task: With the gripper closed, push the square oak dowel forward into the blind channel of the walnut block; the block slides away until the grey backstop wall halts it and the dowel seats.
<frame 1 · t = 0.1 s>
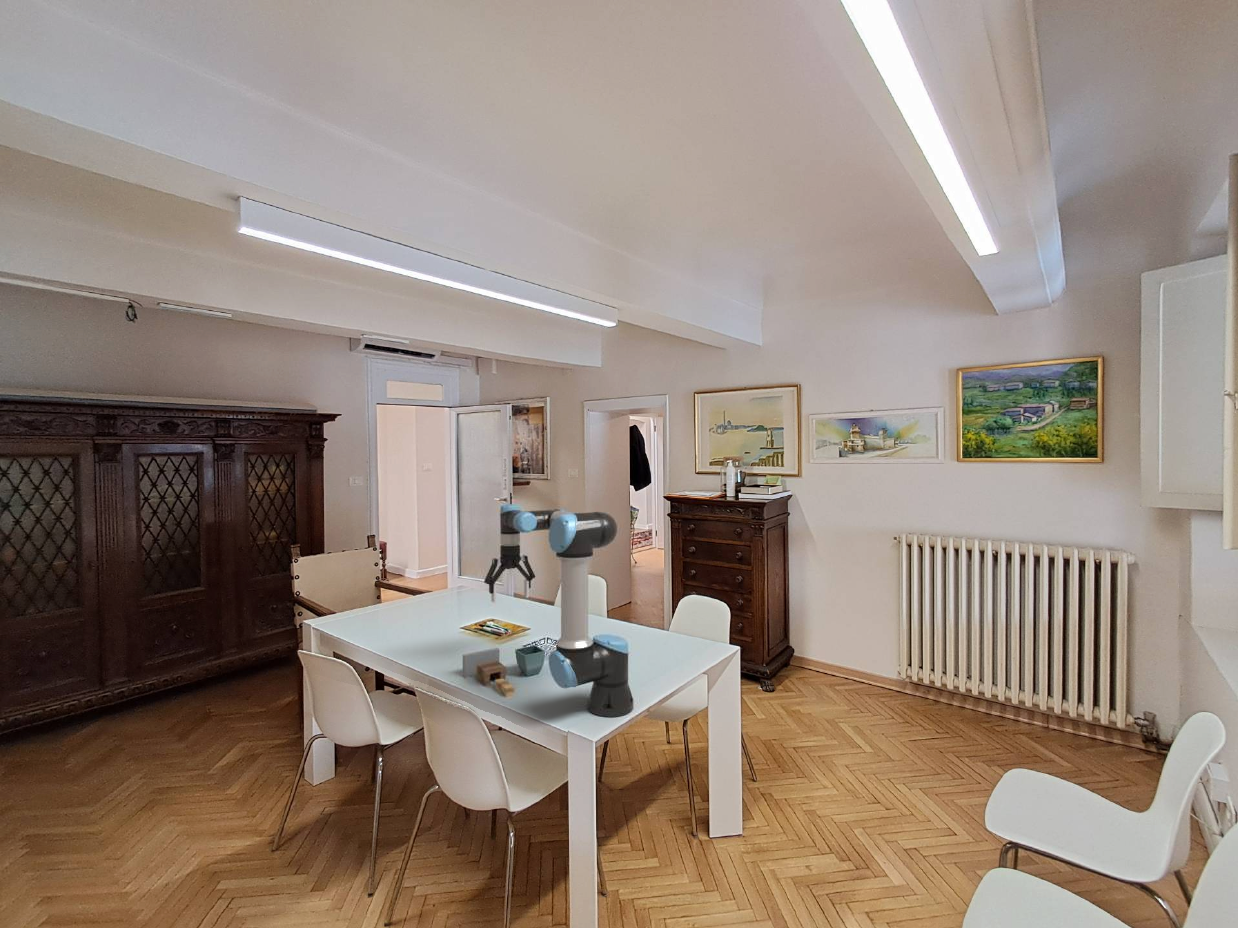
hand: (510, 599, 220), 28 cm above the table, fingers open, 13 cm apart
flower pot: (530, 673, 218), on the table
dowel: (504, 691, 201), on the table
block: (491, 672, 211), point 3 cm above the table, slide at 0.0 cm
wall: (481, 672, 219), on the table
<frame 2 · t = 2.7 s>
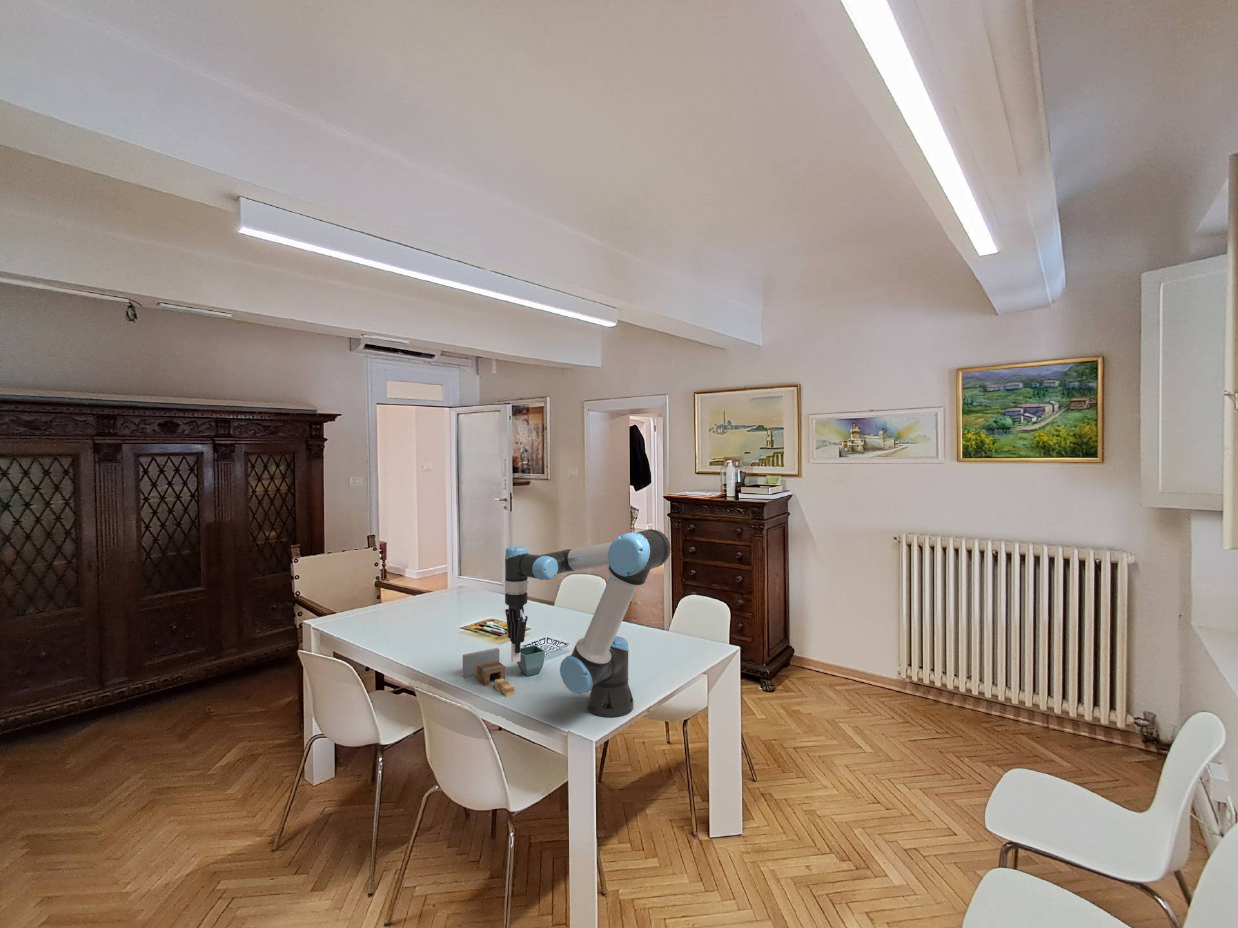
hand: (515, 661, 193), 13 cm above the table, fingers closed
nothing on the table moved.
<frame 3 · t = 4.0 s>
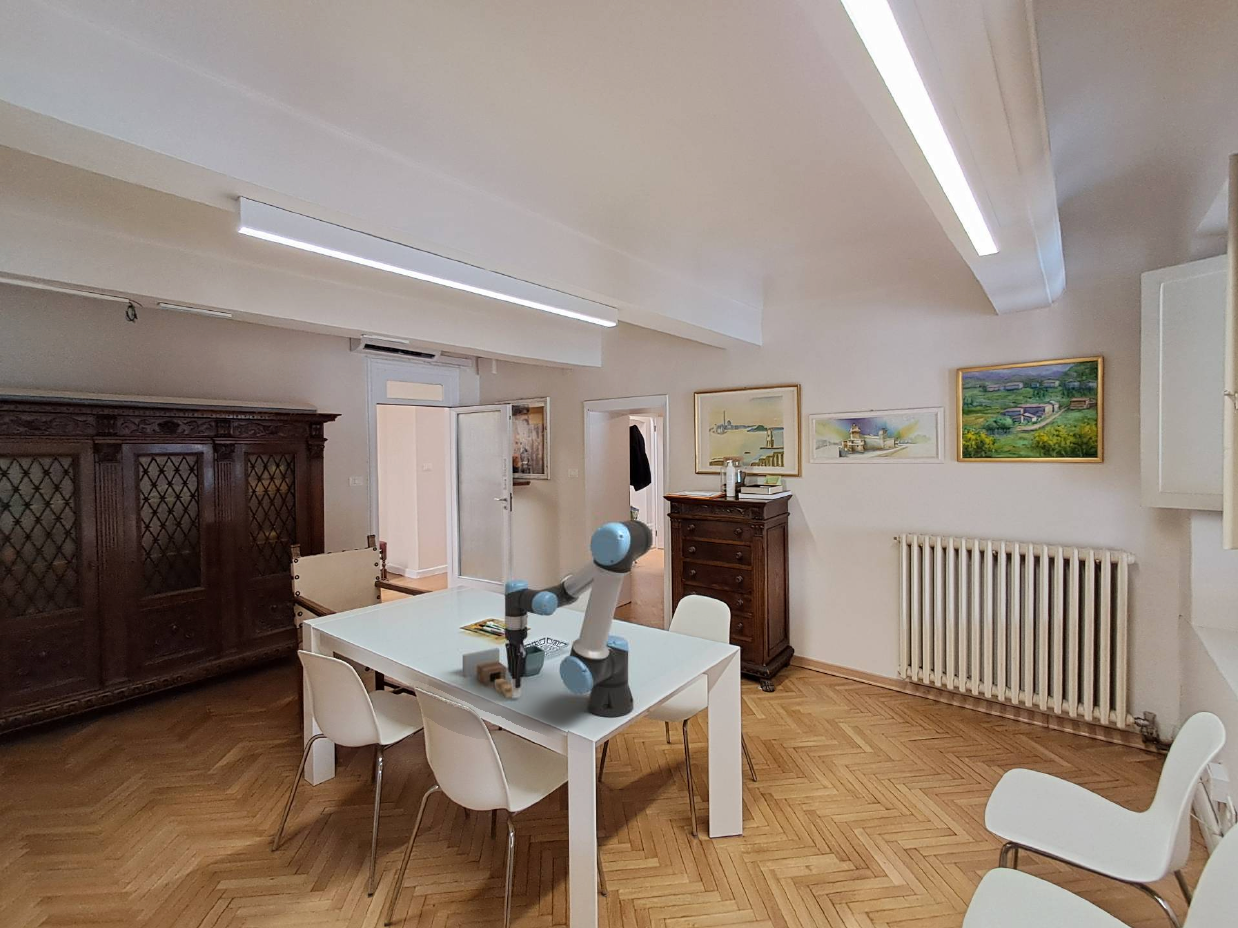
hand: (516, 695, 193), 1 cm above the table, fingers closed
nothing on the table moved.
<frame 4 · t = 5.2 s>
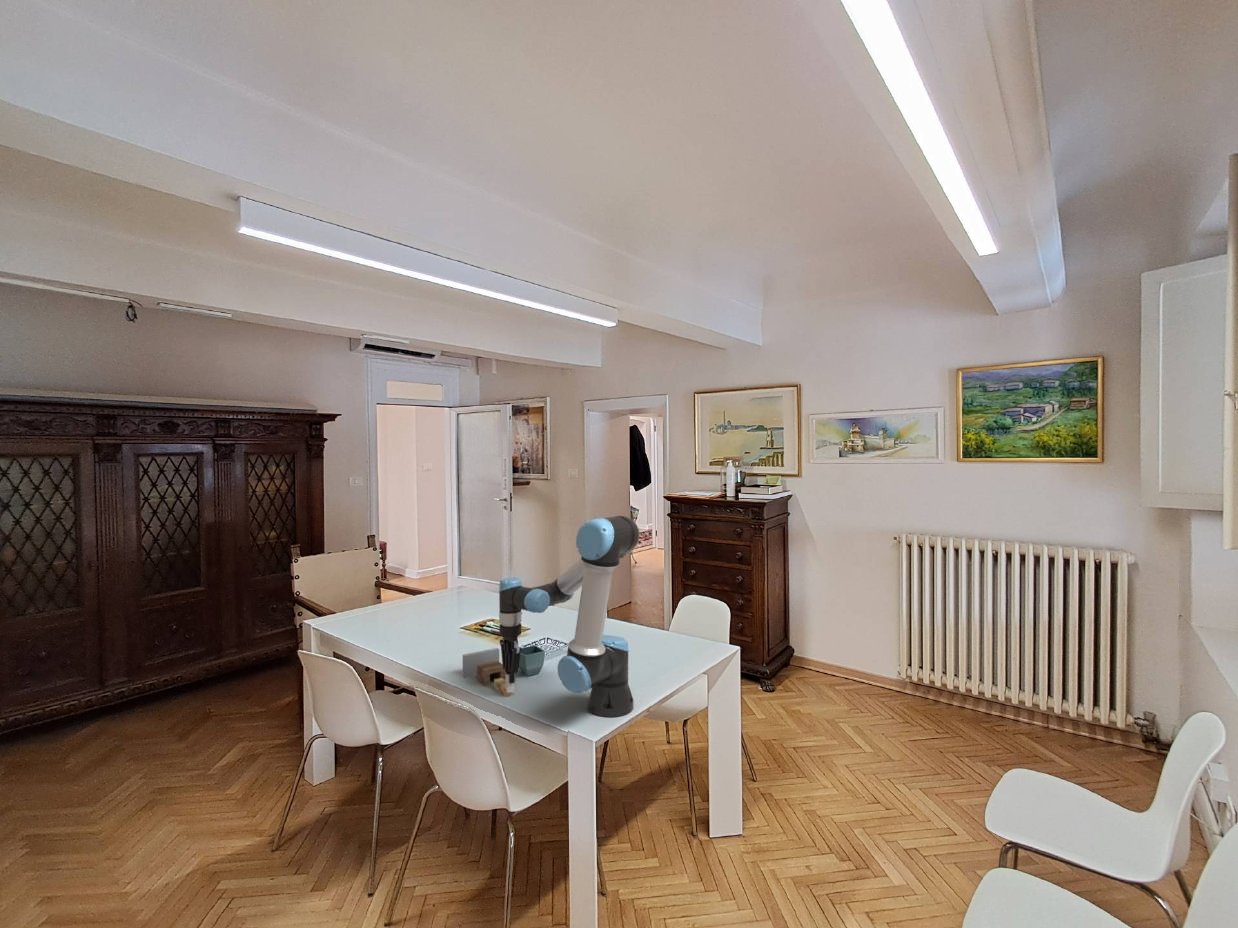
hand: (510, 691, 197), 2 cm above the table, fingers closed
dowel: (503, 691, 202), on the table, touching gripper
everything else where it was.
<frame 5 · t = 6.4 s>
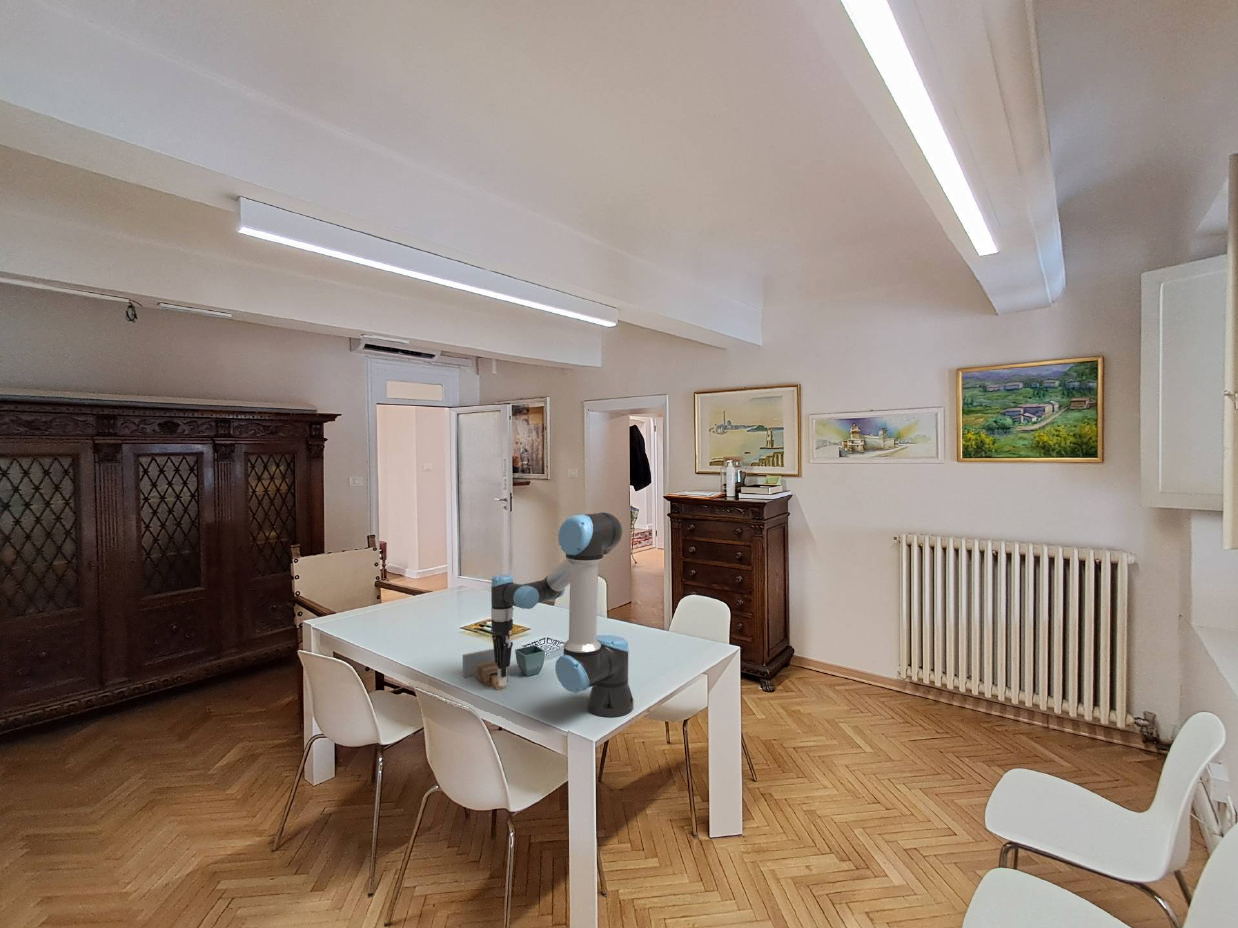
hand: (502, 684, 203), 2 cm above the table, fingers closed
dowel: (495, 684, 208), on the table
everything else where it was.
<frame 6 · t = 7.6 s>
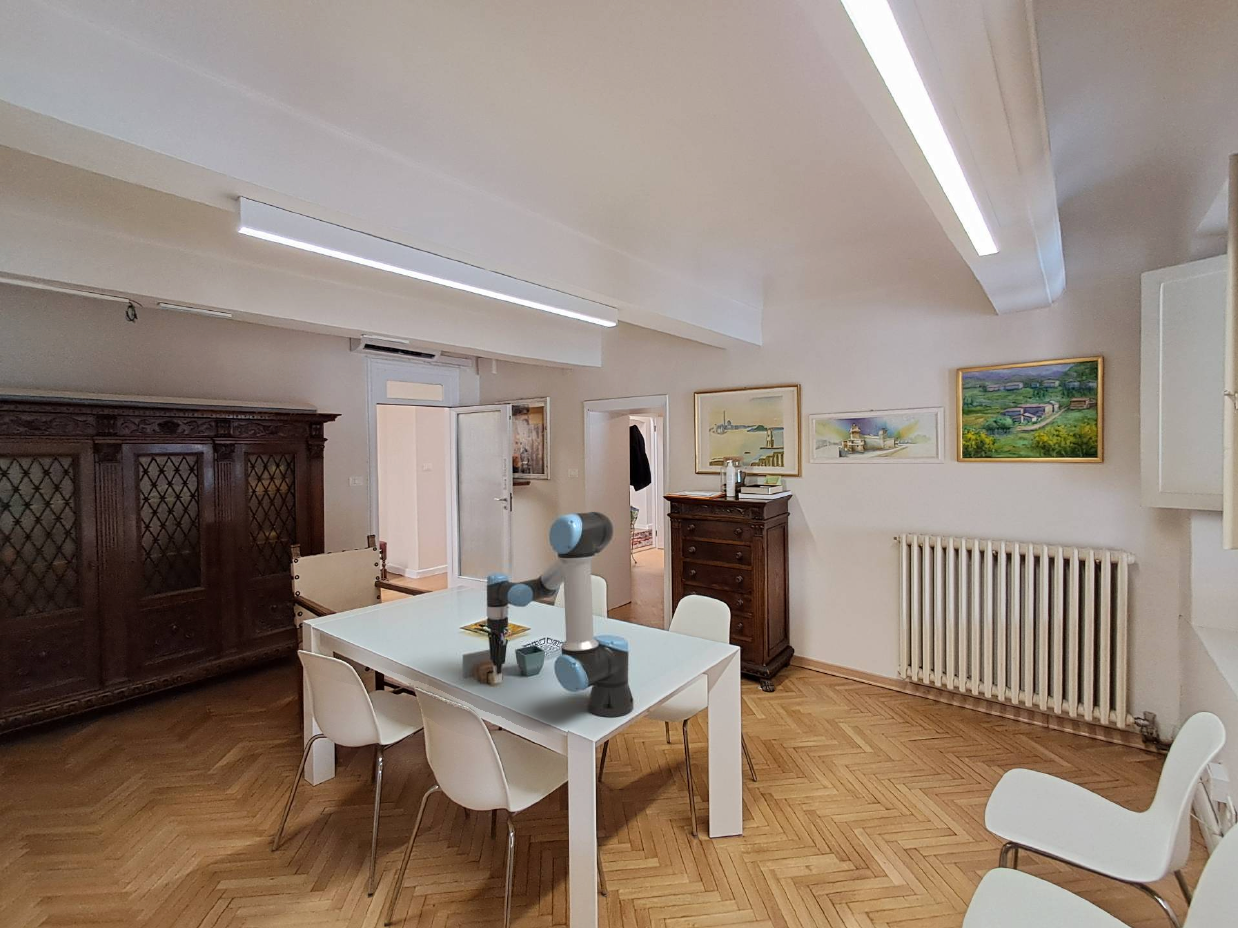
hand: (497, 681, 206), 1 cm above the table, fingers closed
dowel: (491, 680, 211), on the table, touching block, gripper
block: (488, 670, 213), point 3 cm above the table, slide at 2.6 cm, touching dowel
everything else where it was.
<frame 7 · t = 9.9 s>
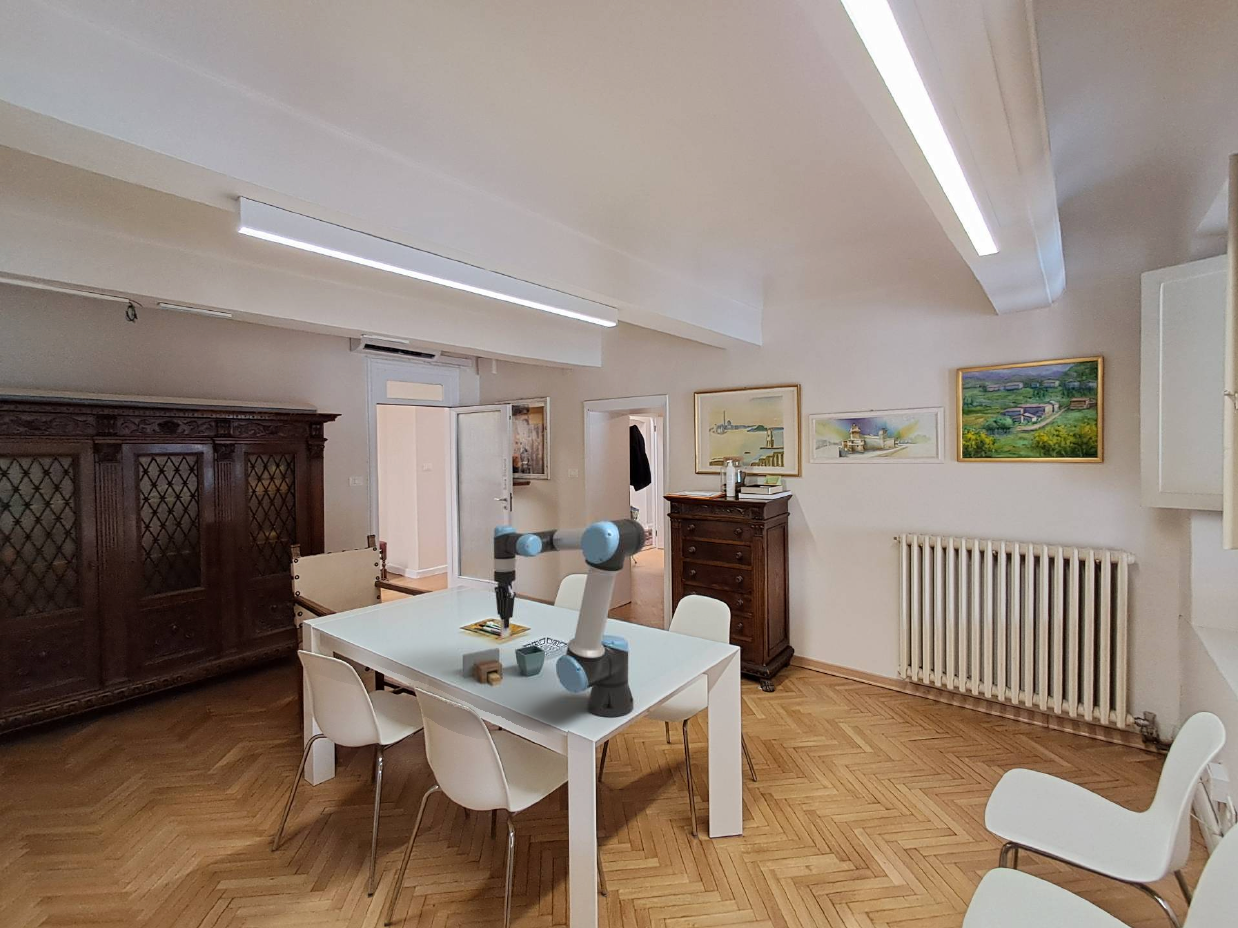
hand: (505, 636, 201), 19 cm above the table, fingers closed
dowel: (491, 681, 211), on the table
block: (488, 670, 213), point 3 cm above the table, slide at 2.8 cm
everything else where it was.
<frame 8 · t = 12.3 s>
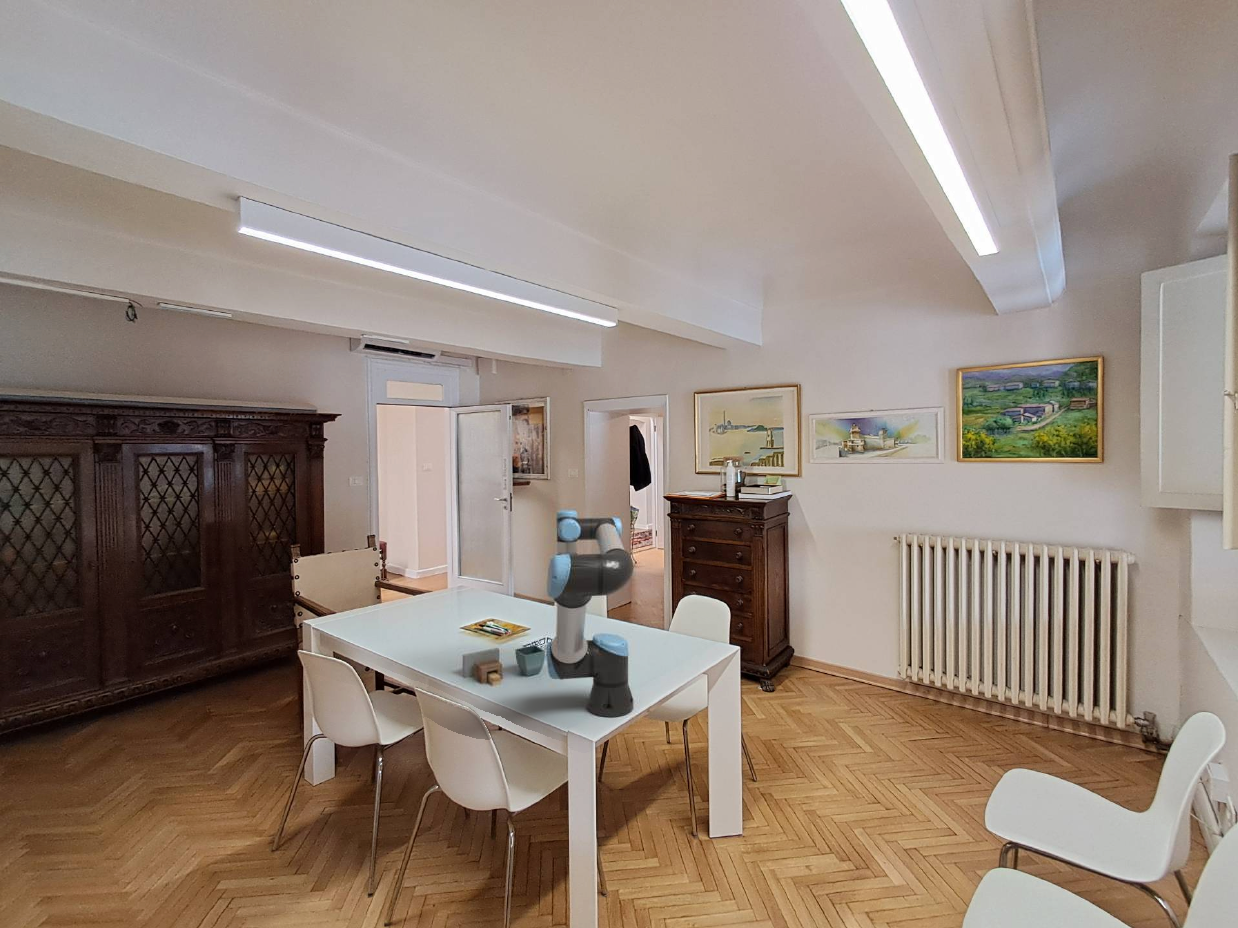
hand: (567, 617, 207), 24 cm above the table, fingers closed
nothing on the table moved.
at the end: block slide at 2.8 cm; dowel 1.0 cm from the target spot on the block, point 0.0 cm above the block's base; dowel touching table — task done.
